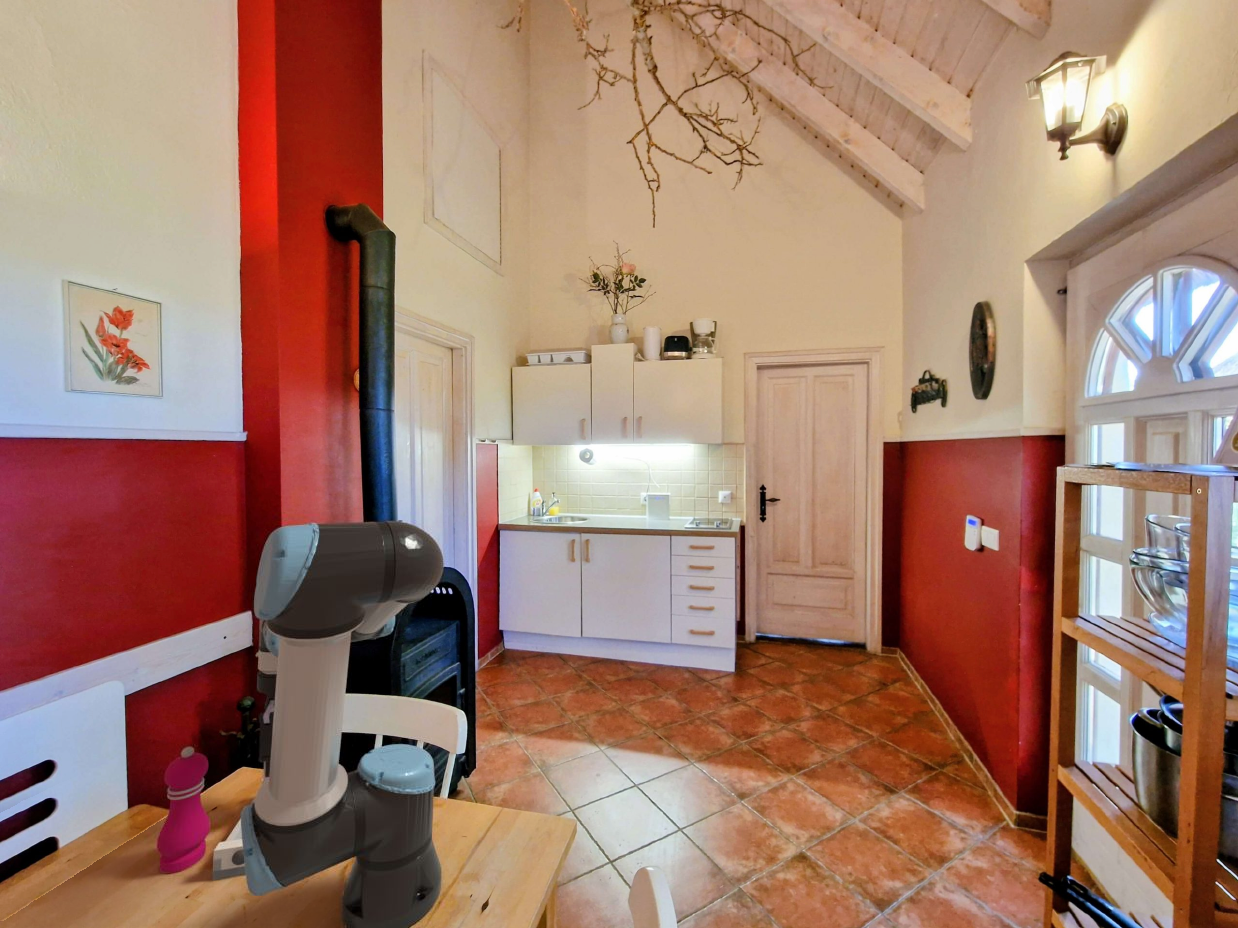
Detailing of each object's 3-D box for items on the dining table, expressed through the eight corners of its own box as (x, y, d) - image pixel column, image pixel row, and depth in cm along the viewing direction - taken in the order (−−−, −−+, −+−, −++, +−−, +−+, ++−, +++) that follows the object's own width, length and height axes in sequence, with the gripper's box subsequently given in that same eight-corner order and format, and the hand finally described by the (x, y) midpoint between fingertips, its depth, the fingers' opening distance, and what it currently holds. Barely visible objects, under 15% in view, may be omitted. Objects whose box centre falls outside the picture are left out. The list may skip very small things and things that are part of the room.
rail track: (265, 872, 87) (267, 843, 87) (211, 881, 85) (212, 851, 85) (307, 791, 109) (308, 768, 109) (265, 797, 107) (265, 773, 107)
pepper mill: (177, 879, 85) (182, 761, 85) (144, 871, 86) (149, 755, 87) (219, 848, 92) (223, 739, 93) (187, 841, 94) (192, 734, 94)
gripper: (274, 653, 109) (270, 762, 108) (240, 686, 93) (234, 813, 92) (313, 651, 111) (309, 757, 110) (286, 682, 95) (281, 806, 94)
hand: (275, 782), depth 101 cm, fingers open, 4 cm apart
